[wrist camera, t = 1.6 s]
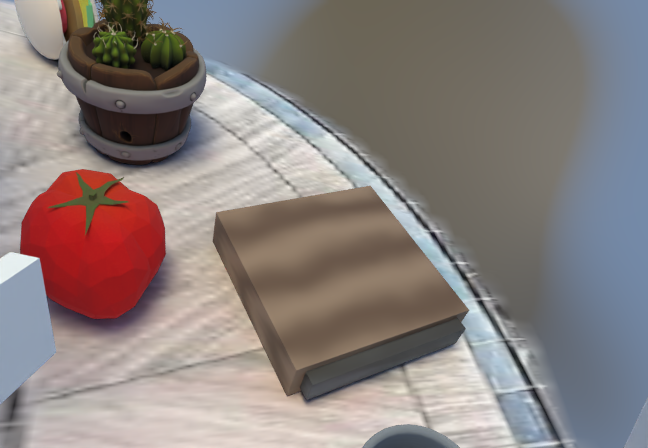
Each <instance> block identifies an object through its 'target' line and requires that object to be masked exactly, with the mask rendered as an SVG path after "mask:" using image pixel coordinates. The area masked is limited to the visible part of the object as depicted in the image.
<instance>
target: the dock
mask: <svg viewBox="0 0 648 448" xmlns="http://www.w3.org/2000/svg"><path fill="white" fill-rule="evenodd" d="M213 243H214V245H215V247H216V249H217V251H218V253H219V255H220V257H221V259H222V261H223V263H224V266H225V268H226V270H227V272H228V274H229V276H230V278H231V280H232V282H233V284H234V286H235V289H236V291H237V293H238V295H239V297H240V299H241V301H242V303H243V305H244V307H245V309H246V311H247V314H248V316H249V318H250V320H251V322H252V324H253V326H254V328H255V330H256V332H257V334H258V337H259V339H260V341H261V343H262V345H263V347H264V349H265V351H266V353H267V355H268V357H269V360H270V362H271V364H272V366H273V368H274V370H275V372H276V374H277V376H278V378H279V380H280V383H281V385H282V387H283V389H284V391H285V393H286V395H287V396H289V395H292V394H295V393H297V392H300V391H302V393H303V395H304V397H305V399H306V400H308V399H311V398H313V397H316V396H319V395H321V394H324V393H327V392H329V391H332V390H334V389H337V388H340V387H342V386H345V385H347V384H350V383H353V382H355V381H358V380H361V379H363V378H366V377H368V376H371V375H374V374H376V373H379V372H381V371H384V370H387V369H389V368H392V367H395V366H397V365H400V364H402V363H405V362H408V361H410V360H413V359H415V358H418V357H421V356H423V355H426V354H429V353H431V352H434V351H436V350H439V349H442V348H444V347H447V346H449V345H452V344H455V343H456V342H457V340H458V339H459V337H460V336H461V334H462V333H463V332H464V330H465V329H466V328H465V327H464V326H463V324H462V323H461V321H462V320H463V319H464V317H465V316H466V314H467V313H468V311H469V309H468V308H467V307H466V306H465V304H464V303H463V302H462V301H461V299H460V298H459V297H458V296H457V294H456V293H455V292H454V291H453V289H452V288H451V287H450V286H449V284H448V283H447V282H446V280H445V279H444V278H443V277H442V275H441V274H440V273H439V272H438V270H437V269H436V268H435V267H434V265H433V264H432V263H431V262H430V260H429V259H428V258H427V257H426V255H425V254H424V253H423V251H422V250H421V249H420V248H419V246H418V245H417V244H416V243H415V241H414V240H413V239H412V238H411V236H410V235H409V234H408V233H407V231H406V230H405V229H404V228H403V226H402V225H401V224H400V223H399V221H398V220H397V219H396V217H395V216H394V215H393V214H392V212H391V211H390V210H389V209H388V207H387V206H386V205H385V204H384V202H383V201H382V200H381V199H380V197H379V196H378V195H377V194H376V192H375V191H374V190H373V188H372V187H371V186H366V187H361V188H355V189H349V190H343V191H337V192H332V193H326V194H320V195H314V196H308V197H303V198H297V199H291V200H285V201H279V202H273V203H268V204H262V205H256V206H250V207H244V208H239V209H233V210H227V211H221V212H216V219H215V227H214V236H213Z"/></svg>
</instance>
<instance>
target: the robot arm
mask: <svg viewBox="0 0 648 448" xmlns="http://www.w3.org/2000/svg"><path fill="white" fill-rule="evenodd" d="M55 353H56V348H55V342H54V336H53V331H52V325H51V320H50V314H49V308H48V303H47V297H46V291H45V286H44V280H43V275H42V269H41V263H40V258H37V257H32V256H27V255H23V254H18V253H13V252H10V253H8V254H6V255H5V256H3V257H2V258H0V404H1V403H2V402H3V401H4V400H5V399H6V398H8V397H9V396H10V395H11V394H12V393H13V392H14V391H15V390H16V389H17V388H18V387H19V386H20V385H22V384H23V383H24V382H25V381H26V380H27V379H28V378H29V377H30V376H31V375H32V374H33V373H34V372H36V371H37V370H38V369H39V368H40V367H41V366H42V365H43V364H44V363H45V362H46V361H47V360H48V359H49V358H51V357H52V356H53V355H54V354H55ZM624 448H648V398H647V400H646V402H645V404H644V406H643V408H642V411H641V413H640V415H639V417H638V419H637V421H636V423H635V425H634V427H633V430H632V432H631V434H630V436H629V438H628V440H627V442H626V444H625V446H624Z"/></svg>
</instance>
